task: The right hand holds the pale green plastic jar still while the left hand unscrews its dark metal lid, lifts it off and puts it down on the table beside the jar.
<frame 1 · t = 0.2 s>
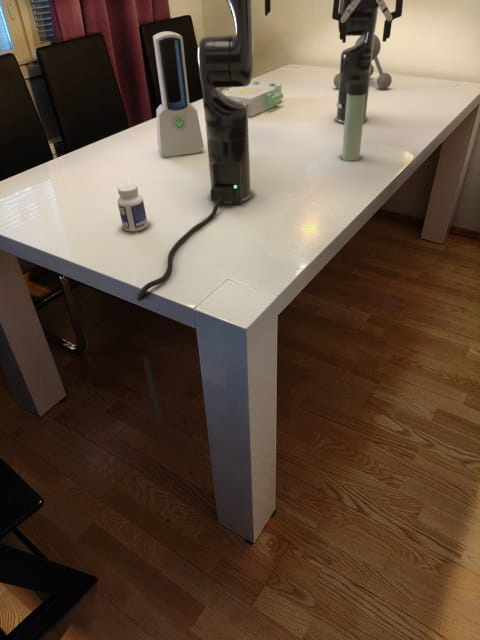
left hand: (250, 15, 131), 32 cm above the table, tool pointing down, fingers open, 8 cm apart
right hand: (363, 41, 106), 29 cm above the table, tool pointing down, fingers open, 8 cm apart
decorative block: (248, 108, 175), on the table
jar: (350, 157, 132), on the table
lid: (357, 83, 121), point 18 cm above the table, screwed on, not yet turned
electronic device: (181, 151, 143), on the table
molecular model: (358, 86, 194), on the table
pill bottle: (135, 227, 105), on the table
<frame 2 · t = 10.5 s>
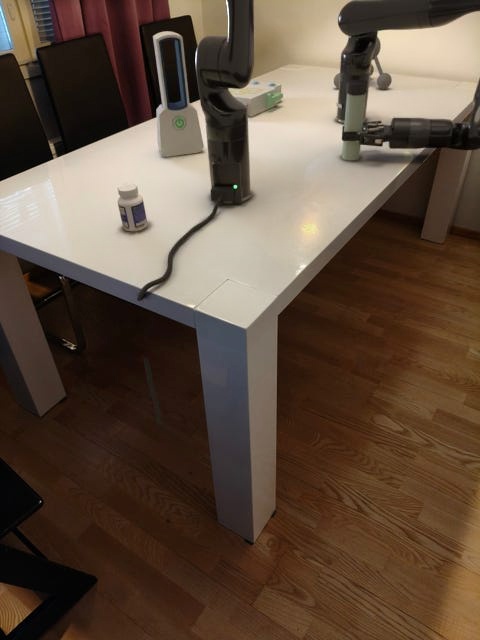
right hand: (342, 133, 128), 6 cm above the table, tool horizontal, fingers closed on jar, 4 cm apart
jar: (350, 157, 132), on the table, touching right hand
everything else where it was.
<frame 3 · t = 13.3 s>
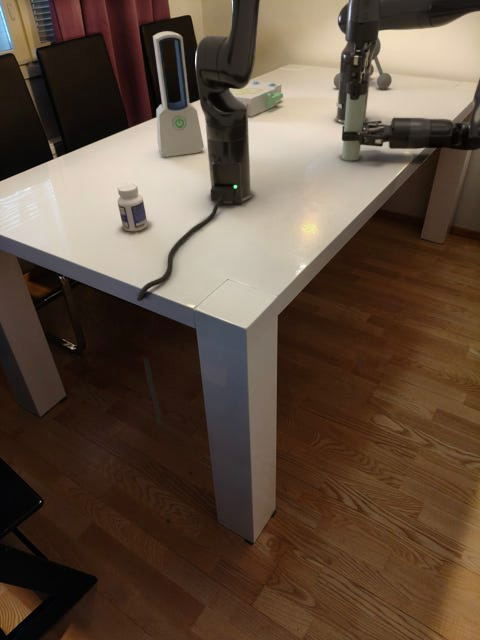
left hand: (356, 96, 122), 16 cm above the table, tool pointing down, fingers closed on lid, 5 cm apart
right hand: (342, 133, 128), 6 cm above the table, tool horizontal, fingers closed on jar, 4 cm apart
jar: (350, 157, 132), on the table, touching right hand
lid: (357, 83, 121), point 18 cm above the table, screwed on, not yet turned, touching left hand
everything else where it was.
when the left hand's fingers open (16 cm above the table, at t = 14.8 s): lid stays where it is, point 19 cm above the table.
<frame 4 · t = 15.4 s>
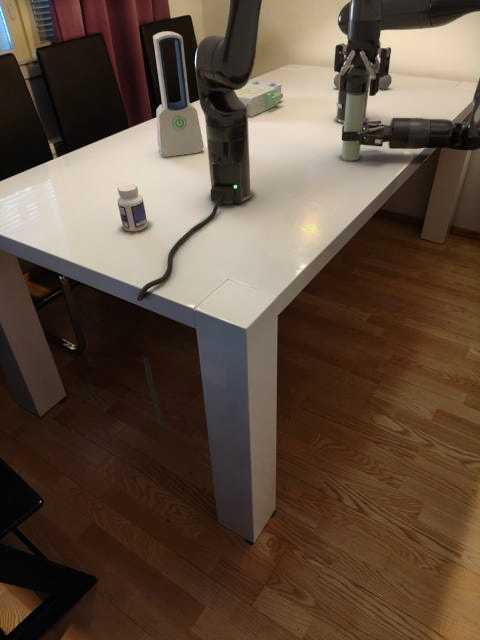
left hand: (358, 93, 121), 16 cm above the table, tool pointing down, fingers open, 7 cm apart
right hand: (342, 133, 128), 7 cm above the table, tool horizontal, fingers closed on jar, 4 cm apart
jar: (350, 157, 132), on the table, touching right hand
lid: (357, 82, 120), point 19 cm above the table, turned 87° so far, risen 0.3 cm, still on its thread
everything else where it was.
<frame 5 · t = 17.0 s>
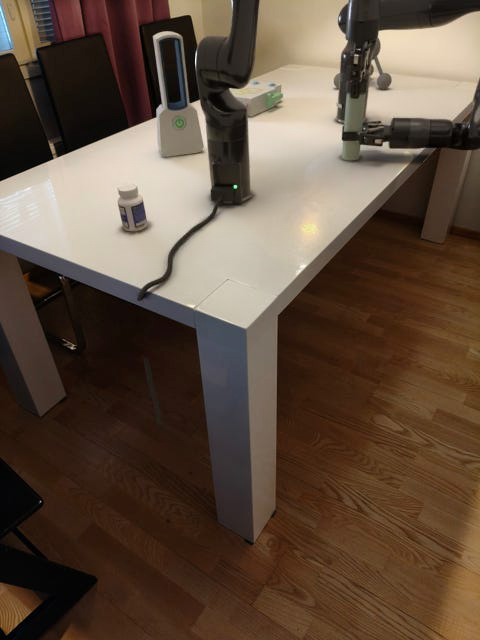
left hand: (356, 95, 122), 16 cm above the table, tool pointing down, fingers closed on lid, 5 cm apart
right hand: (342, 133, 128), 7 cm above the table, tool horizontal, fingers closed on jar, 4 cm apart
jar: (350, 157, 132), on the table, touching right hand
lid: (357, 82, 120), point 19 cm above the table, turned 87° so far, risen 0.3 cm, still on its thread, touching left hand
everything else where it was.
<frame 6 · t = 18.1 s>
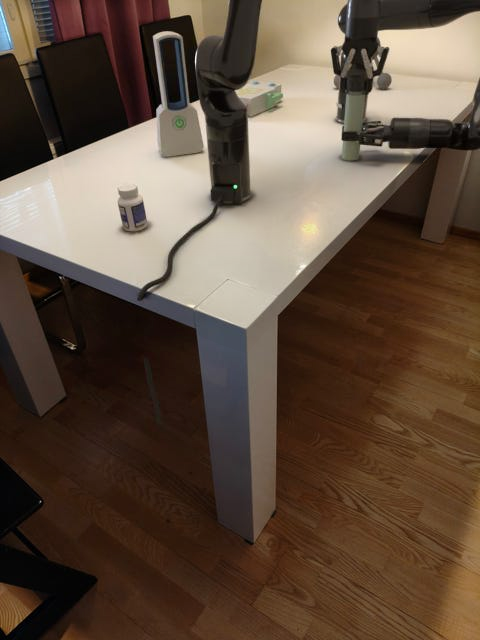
left hand: (355, 93, 122), 16 cm above the table, tool pointing down, fingers closed on lid, 5 cm apart
right hand: (342, 133, 128), 7 cm above the table, tool horizontal, fingers closed on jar, 4 cm apart
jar: (350, 157, 132), on the table, touching right hand
lid: (356, 80, 120), point 19 cm above the table, off its thread, touching left hand
everything else where it was.
when the left hand's fingers open (0 cm above the table, at t = 24.8 s): lid drops 1 cm, point 2 cm above the table.
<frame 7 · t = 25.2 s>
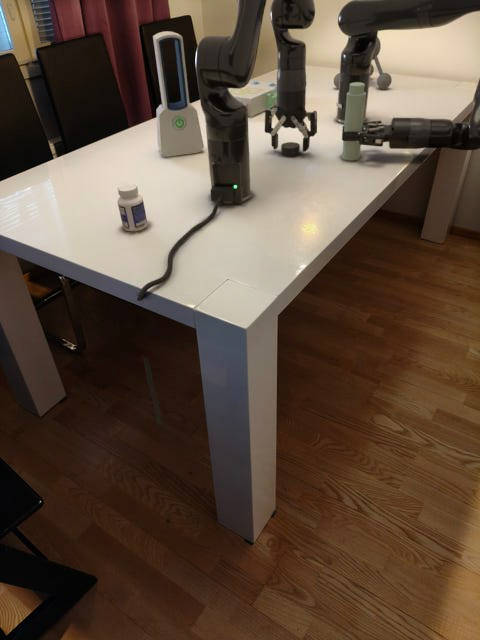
left hand: (290, 149, 136), 1 cm above the table, tool pointing down, fingers open, 8 cm apart
right hand: (342, 133, 128), 7 cm above the table, tool horizontal, fingers closed on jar, 4 cm apart
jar: (350, 157, 132), on the table, touching right hand
lid: (290, 146, 135), point 2 cm above the table, off its thread
everything else where it was.
when the right hand's fingers open (7 cm above the table, at t = 25.8 s): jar stays where it is, on the table.
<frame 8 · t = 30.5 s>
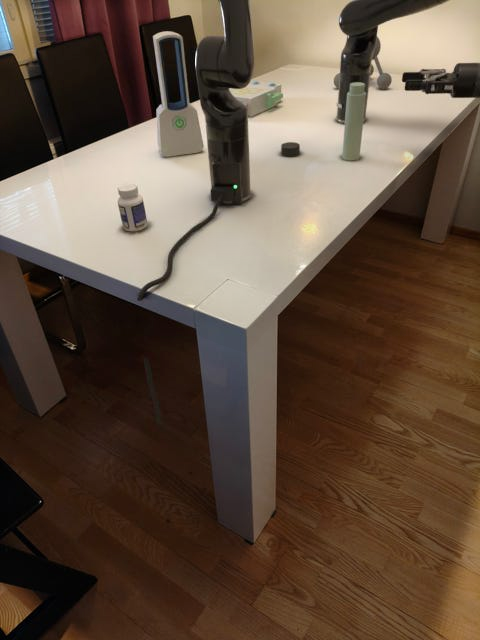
right hand: (403, 81, 118), 19 cm above the table, tool horizontal, fingers open, 8 cm apart
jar: (350, 157, 132), on the table
everything else where it was.
at the end: lid came off its thread; lid point 2.0 cm above the table; the left hand is holding nothing; the right hand is holding nothing; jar tilted 0°; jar moved 0.1 cm from its start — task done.
